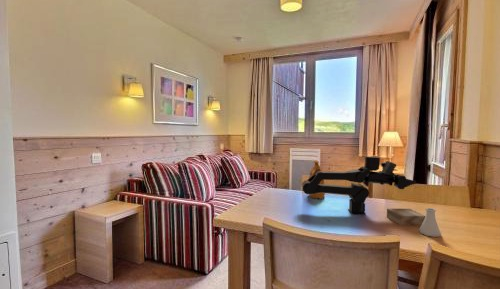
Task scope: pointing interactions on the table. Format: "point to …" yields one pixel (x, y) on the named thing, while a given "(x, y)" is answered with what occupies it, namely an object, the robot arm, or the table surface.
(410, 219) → the walnut block
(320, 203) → the table surface
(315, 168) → the coffee package
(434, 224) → the flask
